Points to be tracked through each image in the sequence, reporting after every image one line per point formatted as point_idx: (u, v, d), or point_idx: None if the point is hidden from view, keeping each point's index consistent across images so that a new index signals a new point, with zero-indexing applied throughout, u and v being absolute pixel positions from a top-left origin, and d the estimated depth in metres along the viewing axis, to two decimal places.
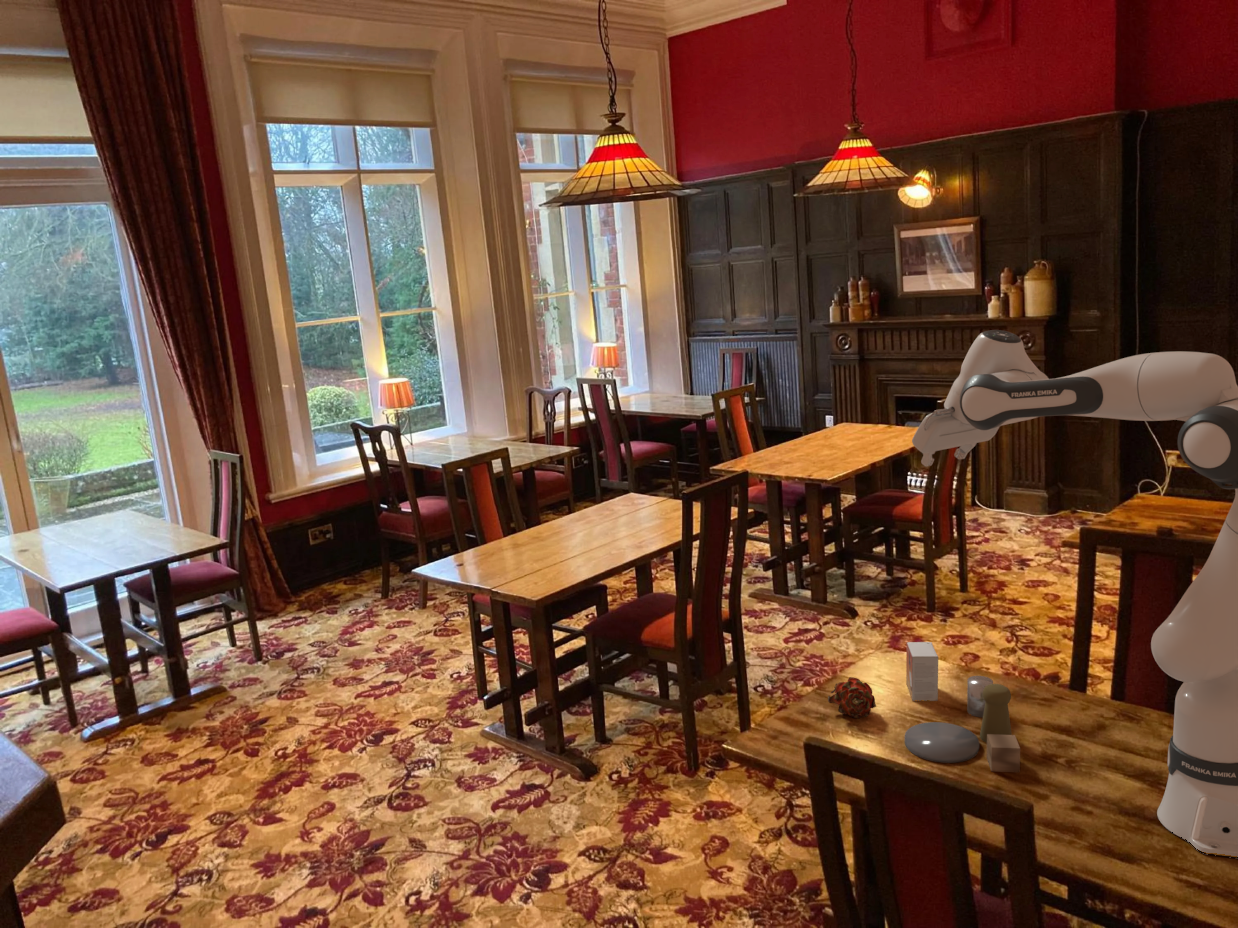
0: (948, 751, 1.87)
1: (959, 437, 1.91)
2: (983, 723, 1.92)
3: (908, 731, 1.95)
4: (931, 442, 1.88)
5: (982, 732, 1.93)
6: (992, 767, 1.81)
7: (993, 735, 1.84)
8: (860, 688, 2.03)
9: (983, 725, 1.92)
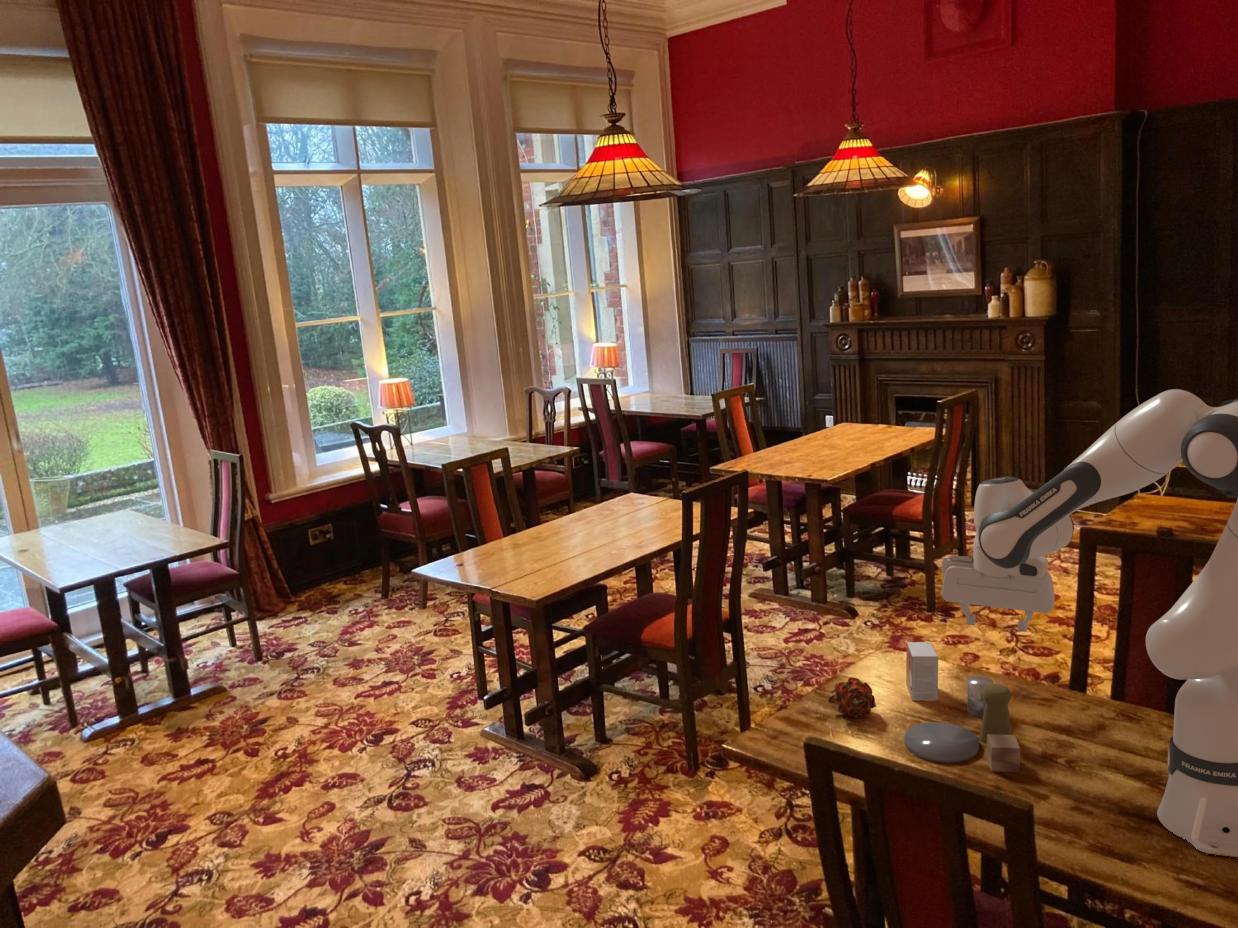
0: (948, 751, 1.87)
1: (991, 593, 1.86)
2: (983, 723, 1.92)
3: (908, 731, 1.95)
4: (949, 589, 1.90)
5: (982, 732, 1.93)
6: (992, 767, 1.81)
7: (993, 735, 1.84)
8: (860, 688, 2.03)
9: (983, 725, 1.92)
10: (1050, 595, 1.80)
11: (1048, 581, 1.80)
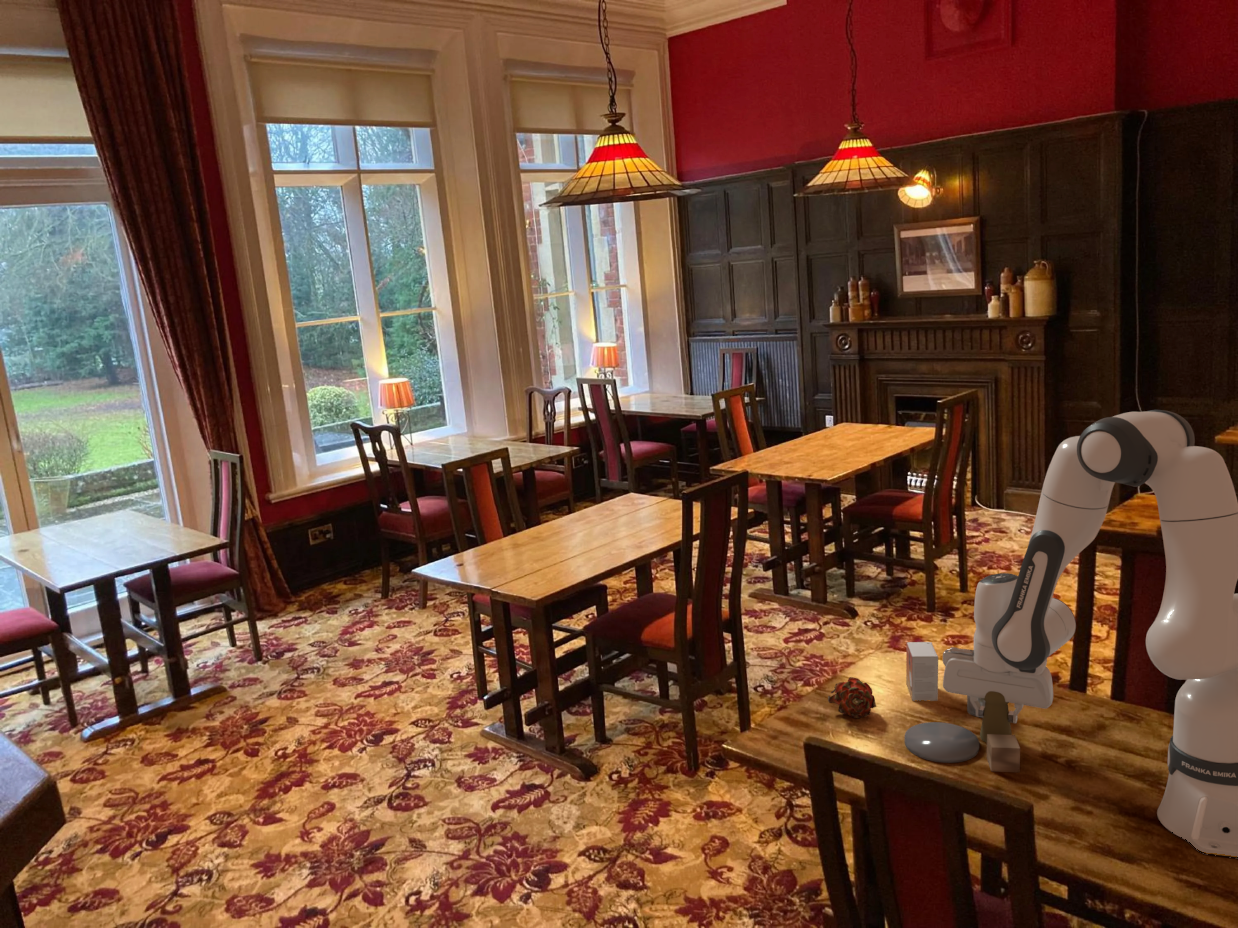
0: (948, 751, 1.87)
1: (991, 687, 1.90)
2: (983, 723, 1.92)
3: (908, 731, 1.95)
4: (950, 680, 1.94)
5: (982, 732, 1.93)
6: (992, 767, 1.81)
7: (993, 735, 1.84)
8: (860, 688, 2.03)
9: (983, 725, 1.92)
10: (1048, 691, 1.84)
11: (1046, 677, 1.84)
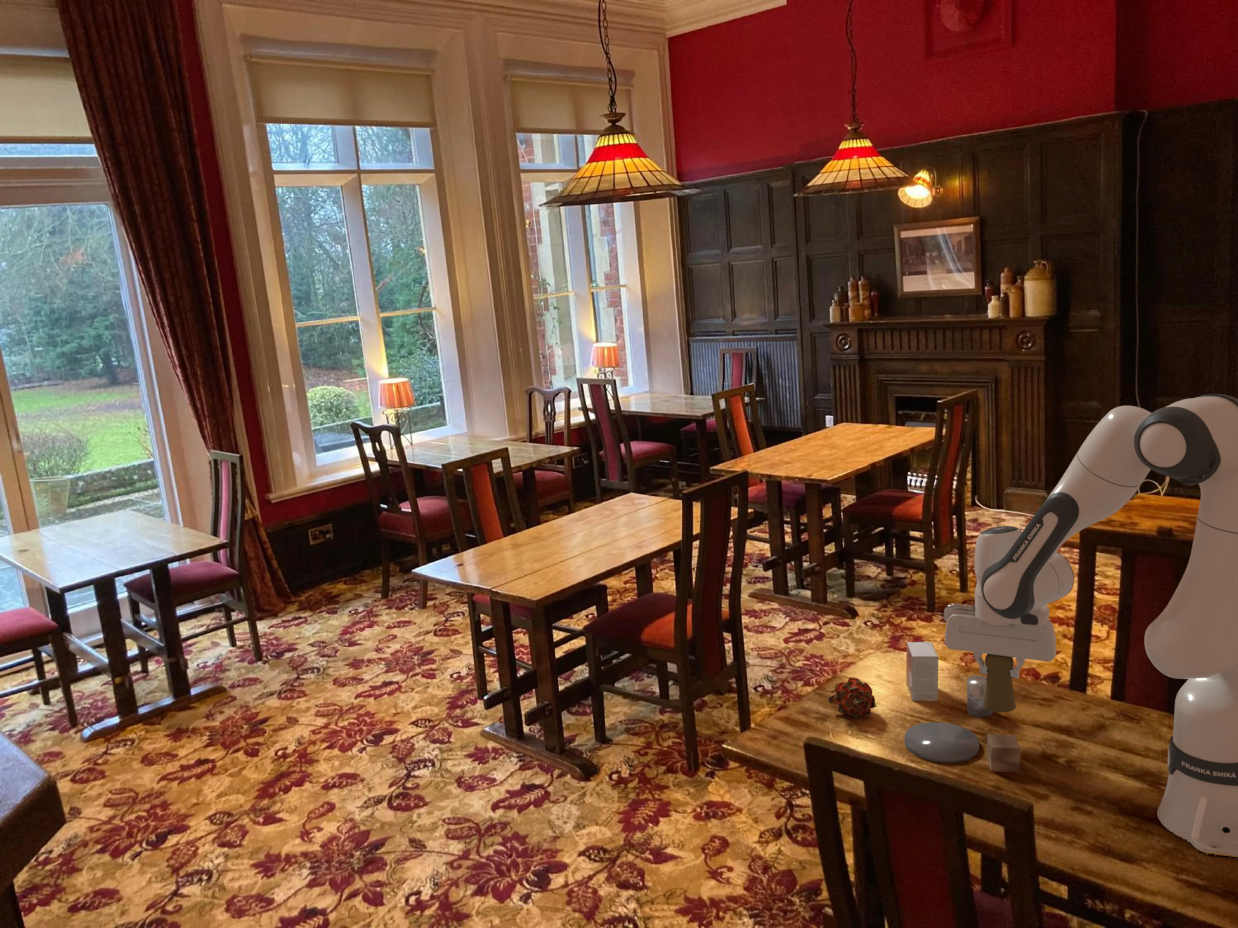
0: (948, 751, 1.87)
1: (993, 642, 1.87)
2: (986, 690, 1.90)
3: (908, 731, 1.95)
4: (952, 637, 1.91)
5: (985, 700, 1.90)
6: (992, 767, 1.81)
7: (993, 735, 1.84)
8: (860, 688, 2.03)
9: (986, 692, 1.90)
10: (1051, 644, 1.81)
11: (1049, 630, 1.82)
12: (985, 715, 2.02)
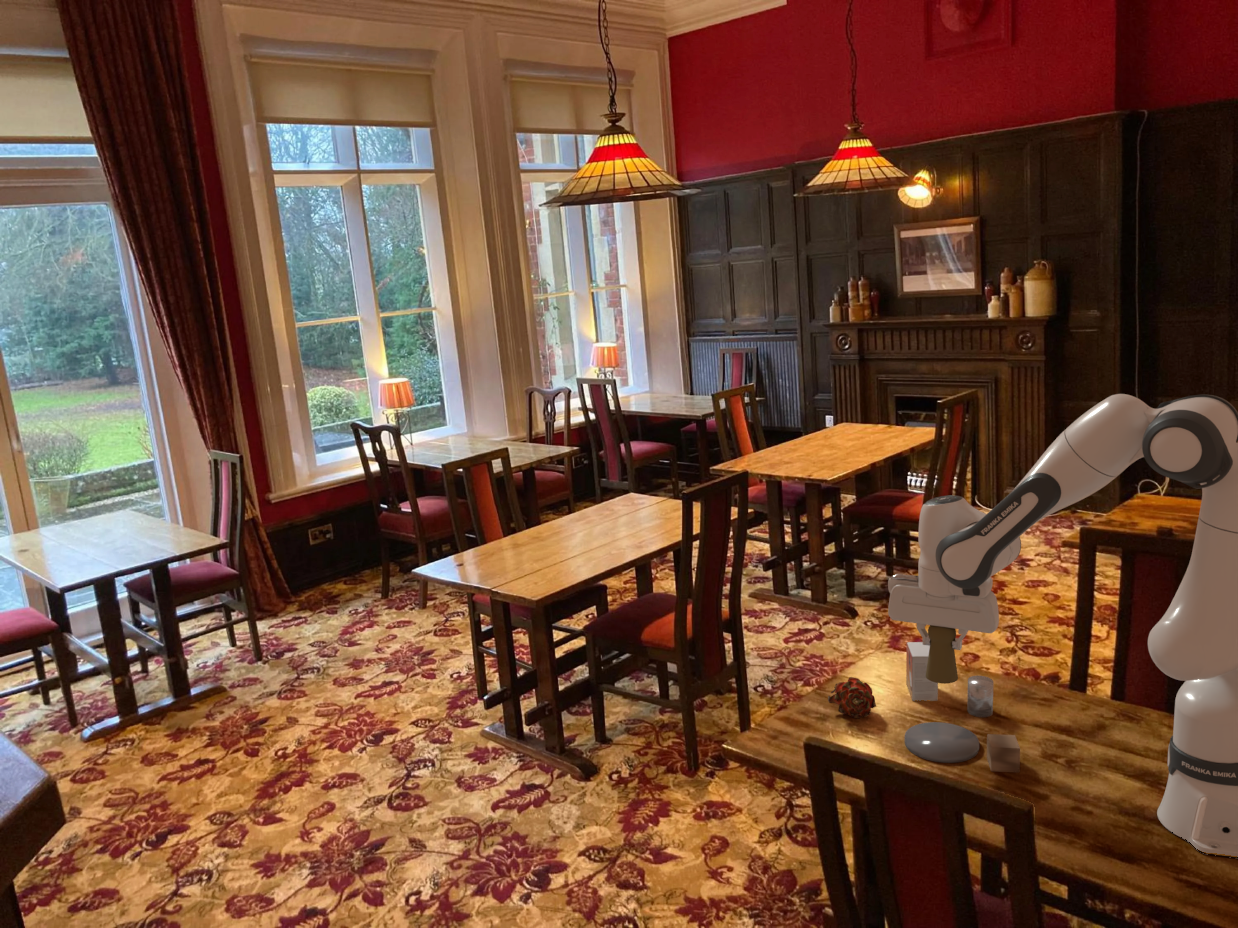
0: (948, 751, 1.87)
1: (935, 613, 1.85)
2: (928, 662, 1.88)
3: (908, 731, 1.95)
4: (895, 607, 1.89)
5: (927, 671, 1.88)
6: (992, 767, 1.81)
7: (993, 735, 1.84)
8: (860, 688, 2.03)
9: (928, 664, 1.88)
10: (993, 615, 1.79)
11: (991, 601, 1.79)
12: (985, 715, 2.02)
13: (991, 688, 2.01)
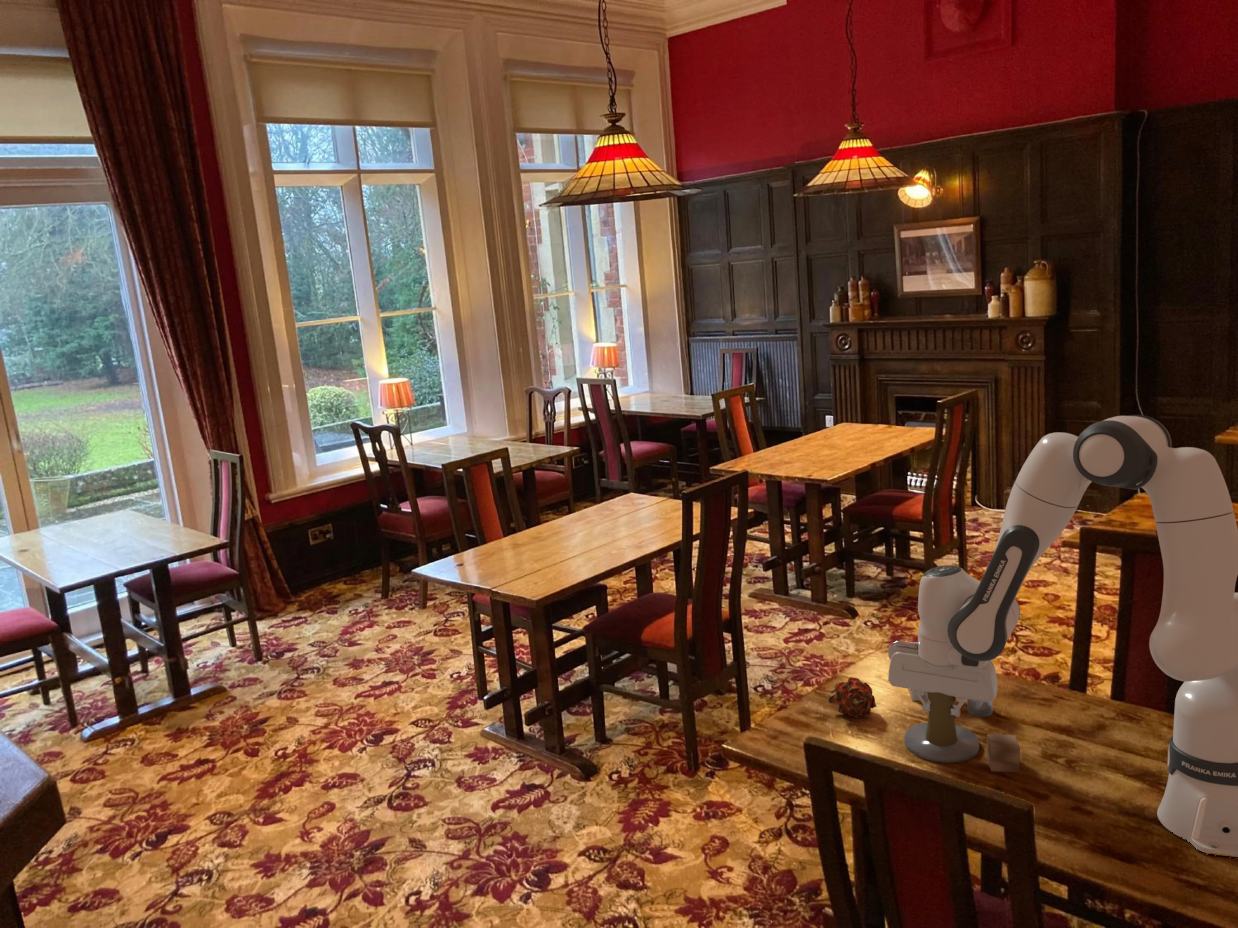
0: (948, 751, 1.87)
1: (935, 680, 1.88)
2: (928, 724, 1.91)
3: (908, 731, 1.95)
4: (895, 674, 1.92)
5: (927, 733, 1.91)
6: (992, 767, 1.81)
7: (993, 735, 1.84)
8: (860, 688, 2.03)
9: (928, 726, 1.91)
10: (991, 685, 1.82)
11: (990, 671, 1.82)
12: (984, 715, 2.02)
13: None
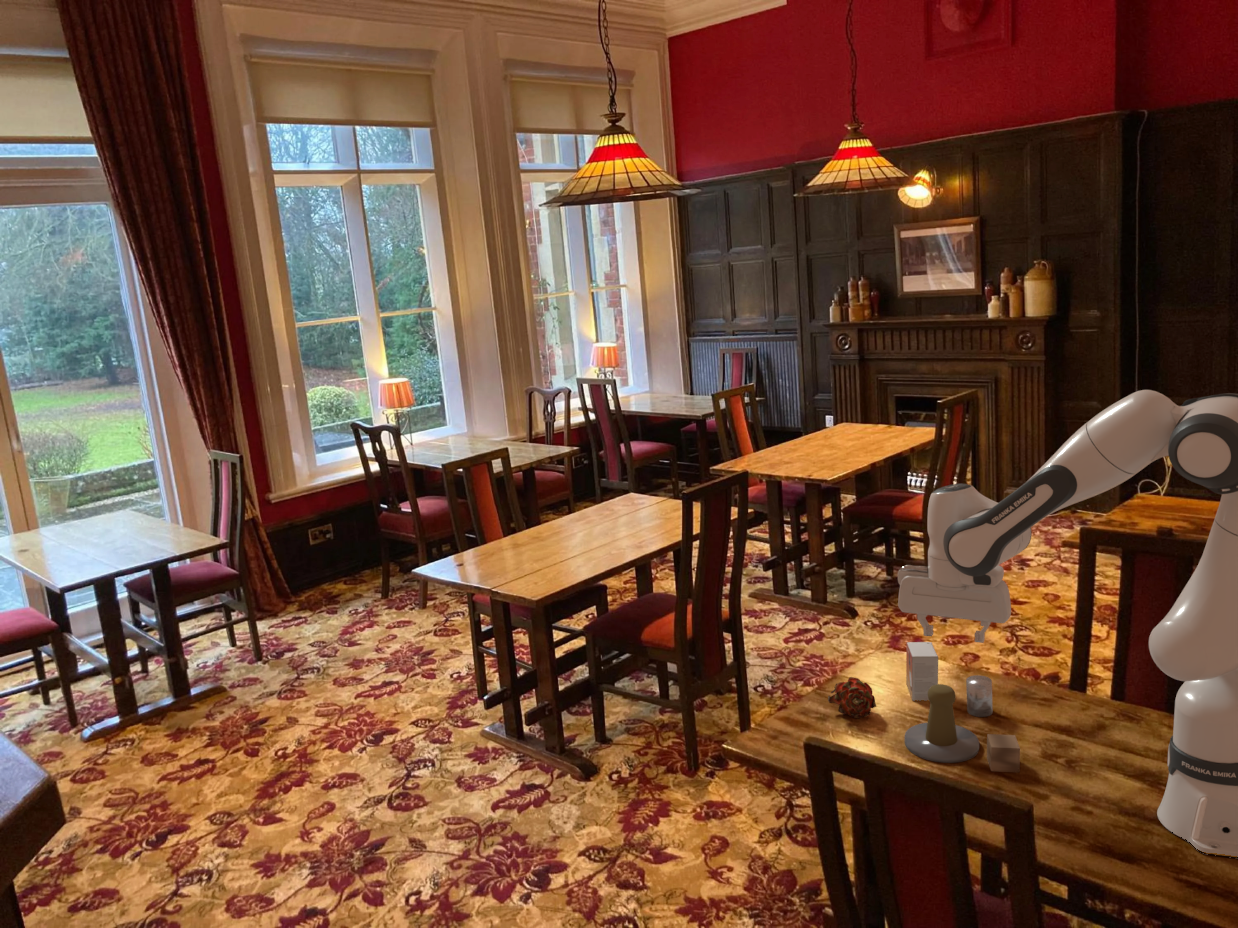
0: (948, 751, 1.87)
1: (946, 603, 1.82)
2: (928, 724, 1.91)
3: (908, 731, 1.95)
4: (905, 599, 1.86)
5: (927, 733, 1.91)
6: (992, 767, 1.81)
7: (993, 735, 1.84)
8: (860, 688, 2.03)
9: (928, 726, 1.91)
10: (1005, 604, 1.76)
11: (1003, 590, 1.76)
12: (983, 715, 2.02)
13: (988, 688, 2.01)
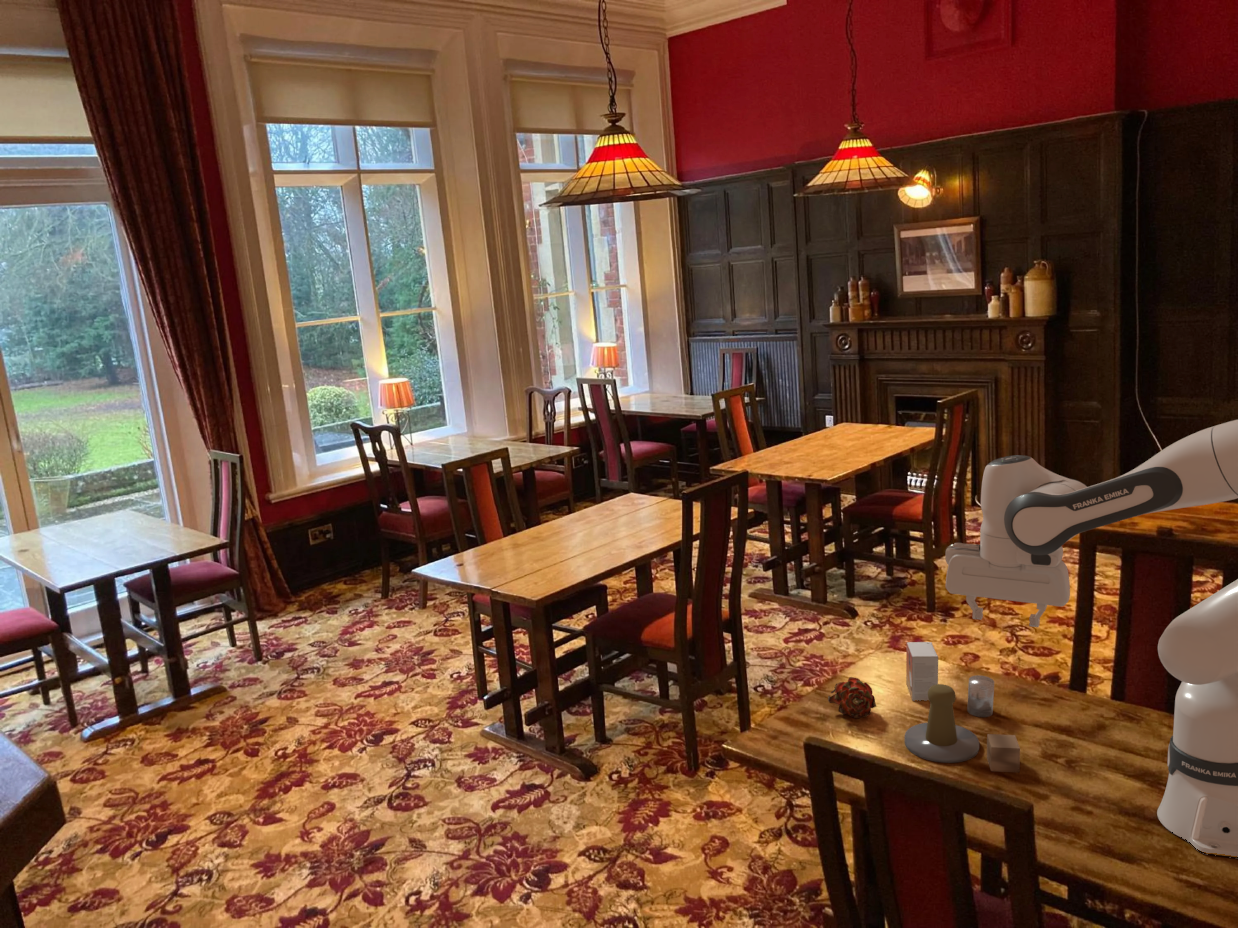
0: (948, 751, 1.87)
1: (999, 585, 1.69)
2: (928, 724, 1.91)
3: (908, 731, 1.95)
4: (954, 580, 1.72)
5: (927, 733, 1.91)
6: (992, 767, 1.81)
7: (993, 735, 1.84)
8: (860, 688, 2.03)
9: (928, 726, 1.91)
10: (1065, 586, 1.63)
11: (1063, 571, 1.63)
12: (982, 715, 2.02)
13: (990, 689, 2.00)
